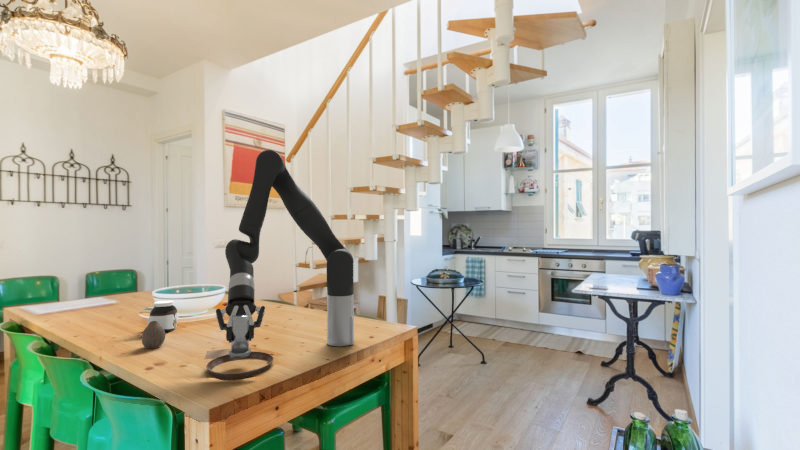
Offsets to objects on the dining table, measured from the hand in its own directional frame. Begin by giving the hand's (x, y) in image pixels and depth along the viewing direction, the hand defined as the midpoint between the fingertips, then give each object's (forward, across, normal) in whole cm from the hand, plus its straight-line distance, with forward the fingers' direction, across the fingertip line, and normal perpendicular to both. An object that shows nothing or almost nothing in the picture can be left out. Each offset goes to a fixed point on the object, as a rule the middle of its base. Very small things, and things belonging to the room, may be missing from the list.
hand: (240, 340), depth 108 cm
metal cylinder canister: (+2, 0, +5) cm, 5 cm away
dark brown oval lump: (-19, -28, +33) cm, 48 cm away
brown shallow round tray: (+6, 0, +8) cm, 10 cm away
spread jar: (-37, -30, +51) cm, 70 cm away
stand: (-6, -6, +19) cm, 21 cm away
